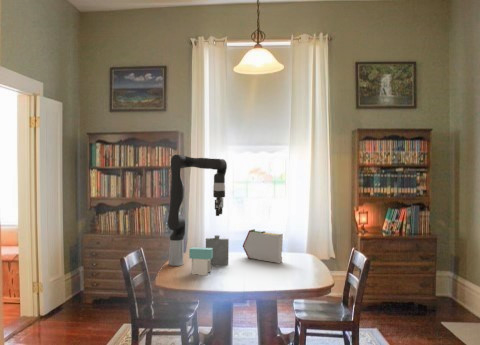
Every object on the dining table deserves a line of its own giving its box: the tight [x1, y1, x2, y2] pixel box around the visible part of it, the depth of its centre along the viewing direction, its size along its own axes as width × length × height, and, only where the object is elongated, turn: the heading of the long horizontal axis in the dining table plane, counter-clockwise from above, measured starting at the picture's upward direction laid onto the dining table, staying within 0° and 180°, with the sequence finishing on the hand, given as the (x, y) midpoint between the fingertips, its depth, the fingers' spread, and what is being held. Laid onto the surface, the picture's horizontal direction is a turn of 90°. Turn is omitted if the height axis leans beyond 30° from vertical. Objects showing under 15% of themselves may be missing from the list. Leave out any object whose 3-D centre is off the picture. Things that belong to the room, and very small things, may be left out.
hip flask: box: [205, 235, 230, 266], centre depth 242 cm, size 16×4×20 cm, turn 86°
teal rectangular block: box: [188, 246, 213, 260], centre depth 221 cm, size 14×4×6 cm, turn 83°
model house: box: [242, 229, 284, 264], centre depth 257 cm, size 21×9×30 cm
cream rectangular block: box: [191, 258, 211, 276], centre depth 221 cm, size 10×8×10 cm
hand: (219, 215), depth 225 cm, fingers open, 8 cm apart
